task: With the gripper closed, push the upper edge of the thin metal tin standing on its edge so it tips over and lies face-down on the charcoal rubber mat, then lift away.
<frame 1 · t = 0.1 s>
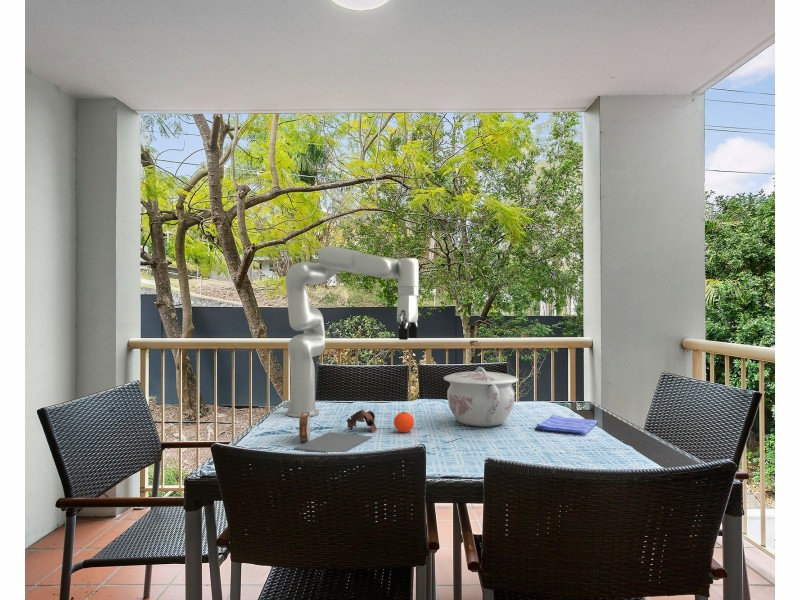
hand: (408, 338, 213), 31 cm above the table, tool pointing down, fingers open, 9 cm apart
clementine: (403, 432, 201), on the table
tin: (306, 440, 189), on the table, touching mat
pottery mug: (363, 431, 204), on the table
dish towel: (566, 428, 208), on the table
mat: (334, 443, 185), on the table
chamber pot: (480, 423, 214), on the table
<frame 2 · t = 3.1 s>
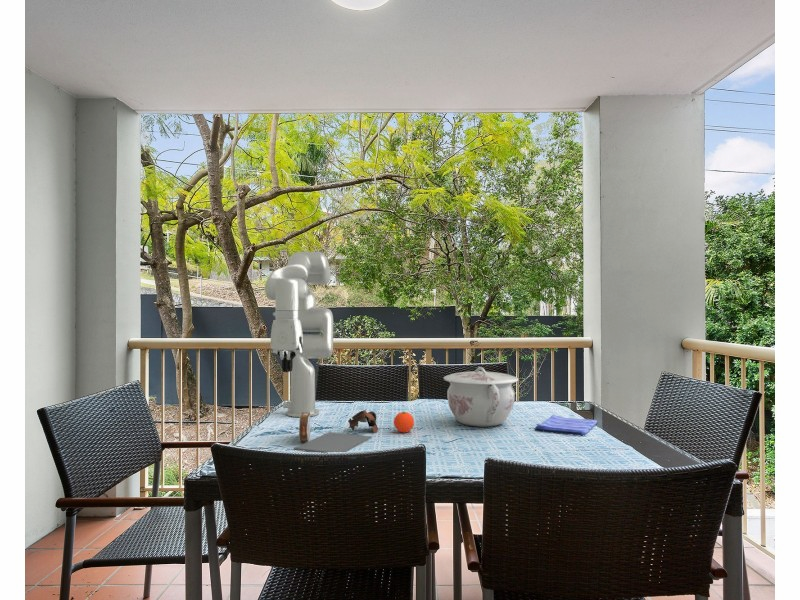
hand: (287, 371, 192), 22 cm above the table, tool pointing down, fingers closed
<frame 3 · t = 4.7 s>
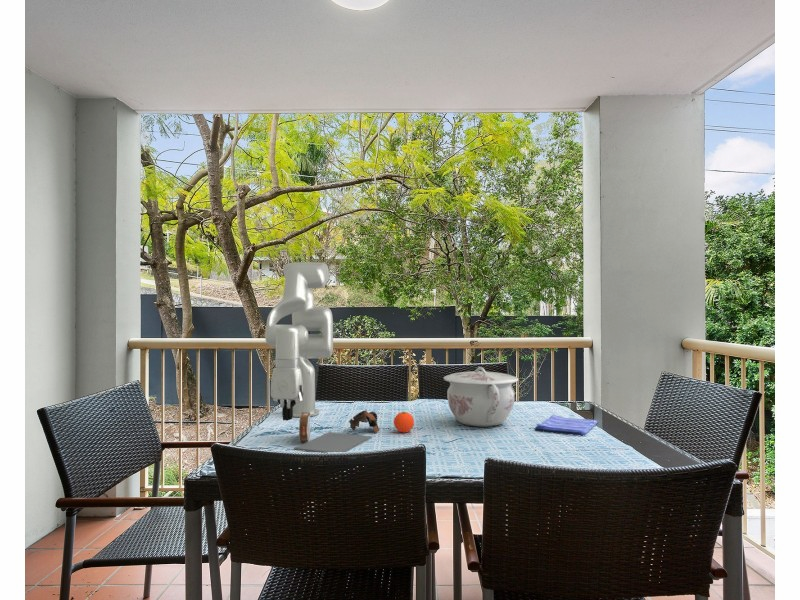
hand: (287, 419, 192), 6 cm above the table, tool pointing down, fingers closed
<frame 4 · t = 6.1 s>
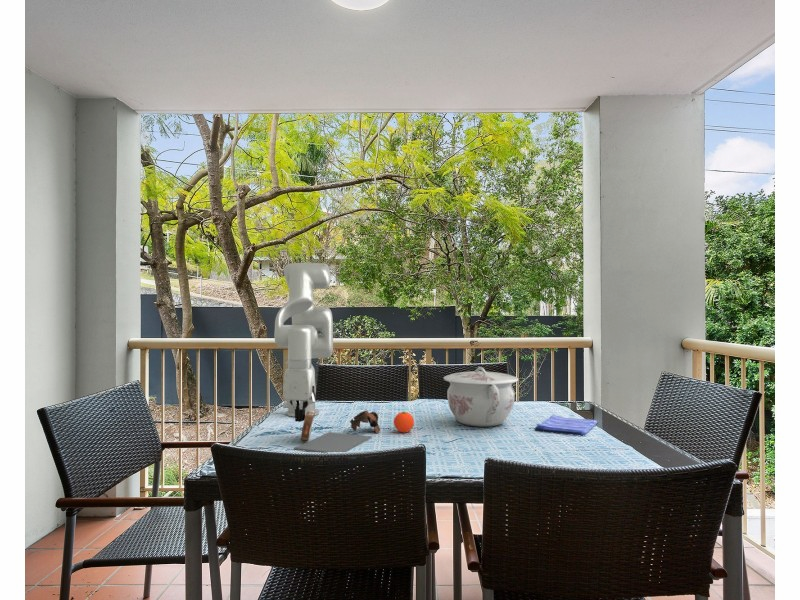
hand: (299, 420, 190), 6 cm above the table, tool pointing down, fingers closed
tin: (305, 439, 189), on the table, touching gripper, mat
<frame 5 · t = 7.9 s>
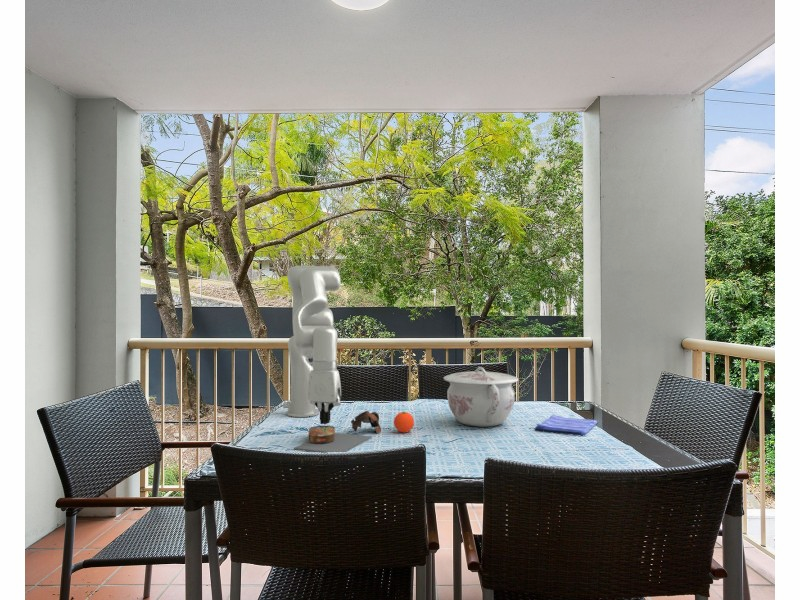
hand: (325, 423, 187), 6 cm above the table, tool pointing down, fingers closed
tin: (308, 435, 190), point 2 cm above the table, touching mat
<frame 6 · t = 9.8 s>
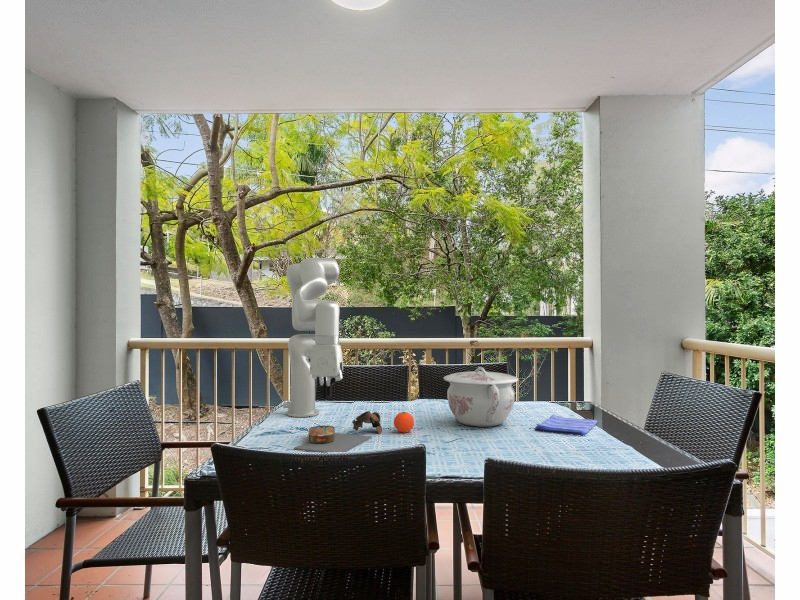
hand: (326, 397, 187), 14 cm above the table, tool pointing down, fingers closed
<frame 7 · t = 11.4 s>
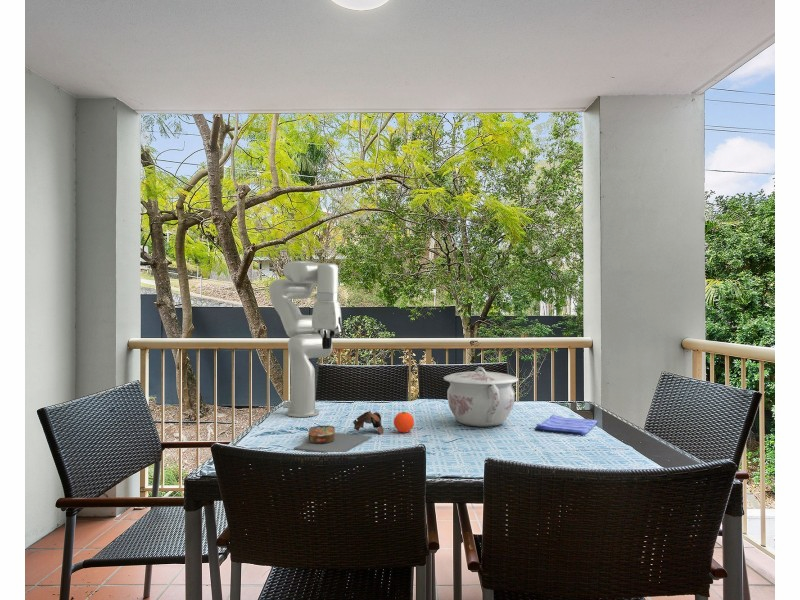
hand: (326, 348, 210), 28 cm above the table, tool pointing down, fingers closed
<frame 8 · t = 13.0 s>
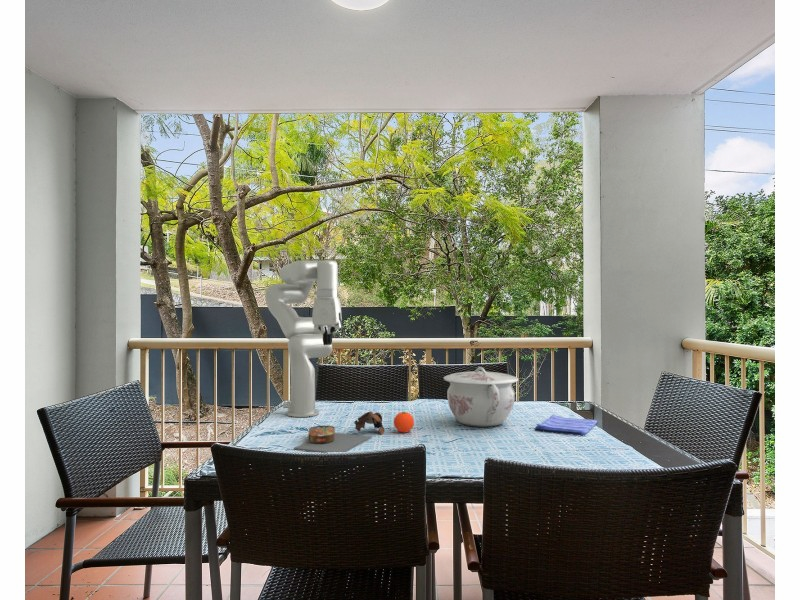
hand: (327, 344, 212), 29 cm above the table, tool pointing down, fingers closed
at the end: tin tilted 86°; tin touching mat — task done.
